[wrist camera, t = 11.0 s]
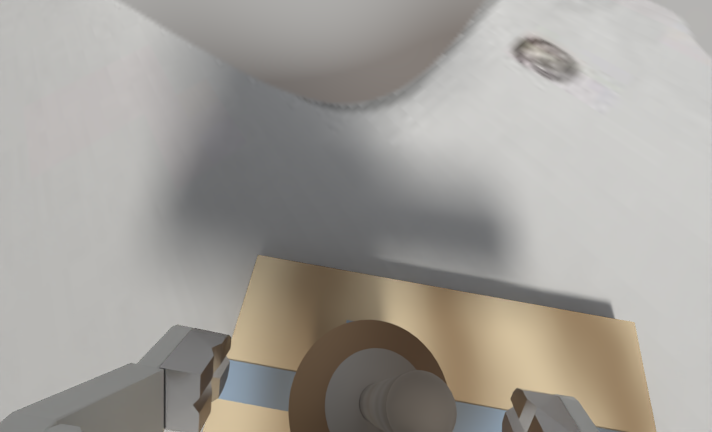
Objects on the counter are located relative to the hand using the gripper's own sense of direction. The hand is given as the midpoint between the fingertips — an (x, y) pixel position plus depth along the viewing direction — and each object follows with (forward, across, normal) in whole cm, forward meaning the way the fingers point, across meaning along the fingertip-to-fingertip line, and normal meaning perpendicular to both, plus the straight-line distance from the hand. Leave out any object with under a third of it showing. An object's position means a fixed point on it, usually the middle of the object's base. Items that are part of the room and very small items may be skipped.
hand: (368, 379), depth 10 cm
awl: (+5, 0, +5) cm, 7 cm away
